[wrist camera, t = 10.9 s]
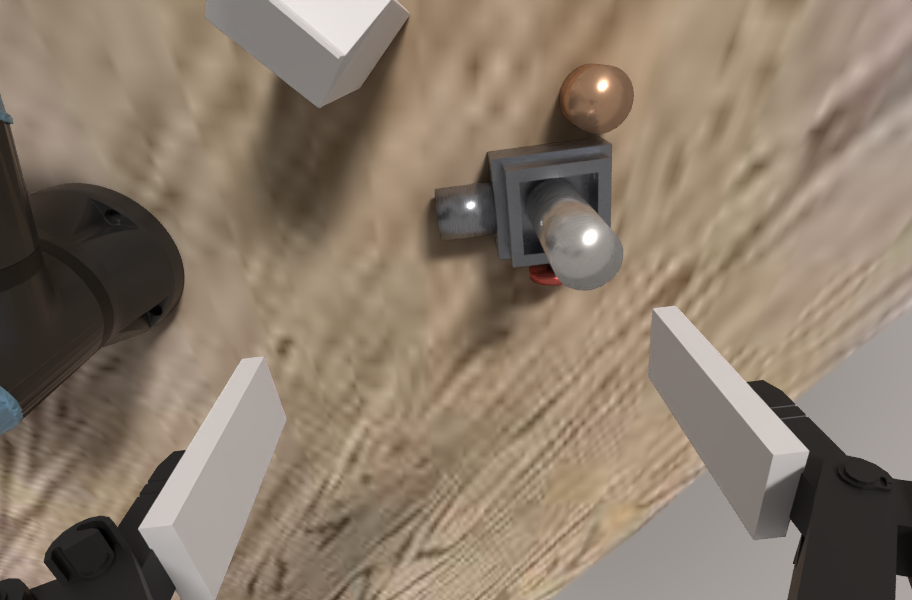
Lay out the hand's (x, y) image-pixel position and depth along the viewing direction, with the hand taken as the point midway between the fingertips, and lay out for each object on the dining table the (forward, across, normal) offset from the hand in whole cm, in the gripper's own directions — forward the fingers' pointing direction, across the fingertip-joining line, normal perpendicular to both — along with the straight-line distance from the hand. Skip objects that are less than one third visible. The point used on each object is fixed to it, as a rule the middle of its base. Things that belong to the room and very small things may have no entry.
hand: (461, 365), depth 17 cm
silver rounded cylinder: (+28, +9, -4) cm, 29 cm away
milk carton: (+32, -6, +12) cm, 35 cm away
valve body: (+31, +6, -5) cm, 32 cm away
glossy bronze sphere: (+31, +13, +4) cm, 34 cm away
